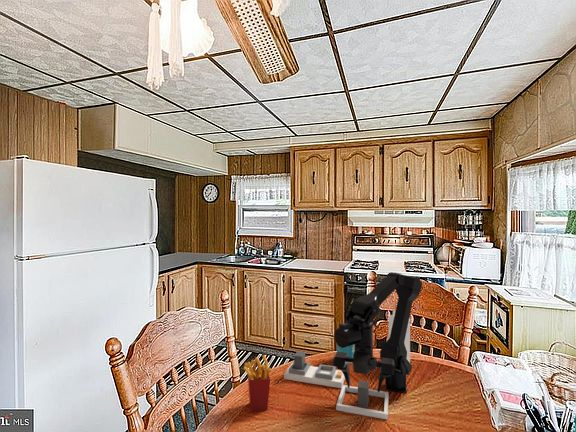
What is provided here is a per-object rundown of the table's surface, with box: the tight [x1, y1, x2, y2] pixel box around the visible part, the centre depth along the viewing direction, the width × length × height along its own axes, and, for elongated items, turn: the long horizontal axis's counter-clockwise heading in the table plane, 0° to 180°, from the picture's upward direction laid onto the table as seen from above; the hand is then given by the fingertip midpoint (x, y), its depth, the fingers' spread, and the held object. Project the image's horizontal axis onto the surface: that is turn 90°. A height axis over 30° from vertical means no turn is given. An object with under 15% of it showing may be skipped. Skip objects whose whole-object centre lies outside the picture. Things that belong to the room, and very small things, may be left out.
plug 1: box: [293, 350, 306, 370], centre depth 123 cm, size 3×4×6 cm, turn 162°
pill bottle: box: [336, 344, 354, 357], centre depth 136 cm, size 8×7×14 cm
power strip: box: [283, 361, 346, 389], centre depth 121 cm, size 21×9×4 cm, turn 72°
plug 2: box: [357, 380, 370, 409], centre depth 104 cm, size 3×4×6 cm, turn 162°
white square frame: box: [335, 384, 389, 420], centre depth 104 cm, size 15×13×2 cm
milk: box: [388, 309, 411, 364], centre depth 132 cm, size 6×6×22 cm
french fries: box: [243, 354, 272, 413], centre depth 103 cm, size 9×8×15 cm
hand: (363, 389), depth 104 cm, fingers open, 9 cm apart
